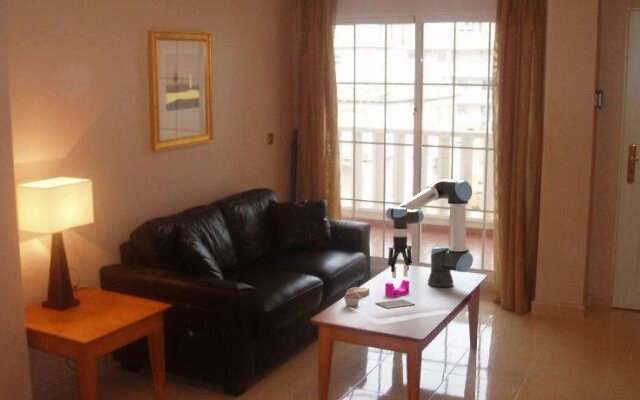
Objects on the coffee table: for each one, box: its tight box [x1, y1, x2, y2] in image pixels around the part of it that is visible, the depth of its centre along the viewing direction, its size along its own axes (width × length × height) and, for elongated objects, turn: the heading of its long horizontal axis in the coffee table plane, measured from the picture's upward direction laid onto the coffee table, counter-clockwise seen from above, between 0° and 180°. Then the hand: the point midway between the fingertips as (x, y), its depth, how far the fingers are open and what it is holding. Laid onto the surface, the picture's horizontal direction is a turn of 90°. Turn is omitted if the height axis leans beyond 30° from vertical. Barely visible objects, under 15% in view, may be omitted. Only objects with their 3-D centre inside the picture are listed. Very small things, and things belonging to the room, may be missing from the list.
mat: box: [374, 298, 415, 310], centre depth 430 cm, size 18×12×1 cm, turn 117°
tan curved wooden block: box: [346, 286, 370, 299], centre depth 450 cm, size 4×10×9 cm
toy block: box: [384, 279, 410, 298], centre depth 452 cm, size 15×6×8 cm, turn 126°
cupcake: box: [343, 287, 361, 308], centre depth 428 cm, size 9×9×10 cm
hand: (399, 277), depth 430 cm, fingers open, 7 cm apart
